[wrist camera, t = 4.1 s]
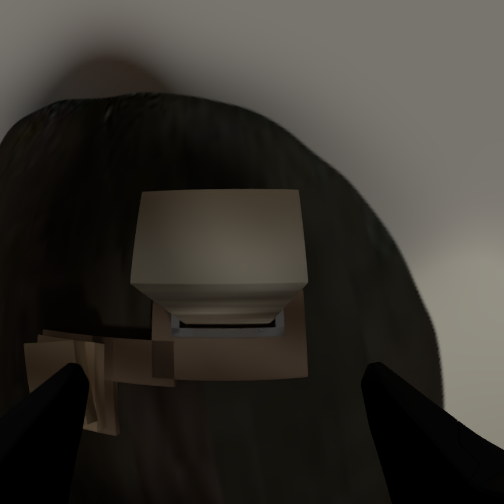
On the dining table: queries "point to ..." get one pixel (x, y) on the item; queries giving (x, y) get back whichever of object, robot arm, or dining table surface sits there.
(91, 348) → the lower offcut
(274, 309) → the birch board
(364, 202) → the dining table surface
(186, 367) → the rack
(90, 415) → the upper offcut
